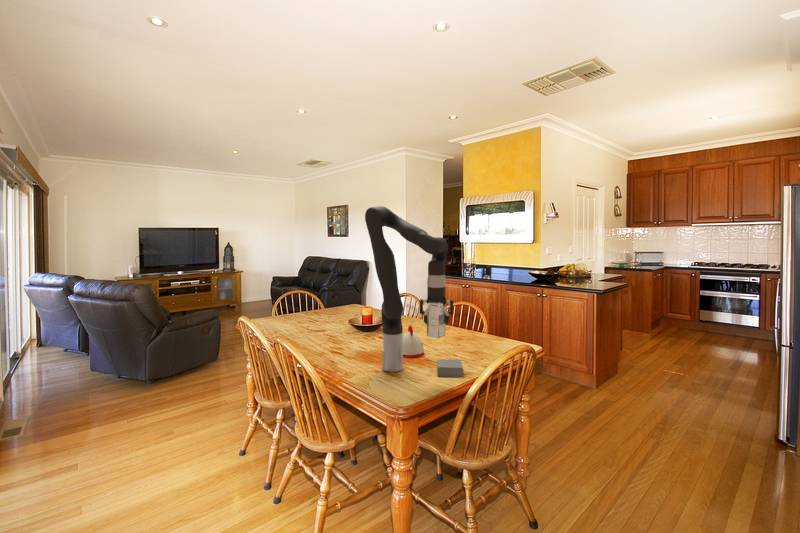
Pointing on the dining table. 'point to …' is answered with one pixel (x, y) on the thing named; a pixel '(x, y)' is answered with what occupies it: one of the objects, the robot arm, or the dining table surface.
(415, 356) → the kitchen timer
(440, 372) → the grey block
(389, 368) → the robot arm
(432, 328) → the syrup box
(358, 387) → the dining table surface
